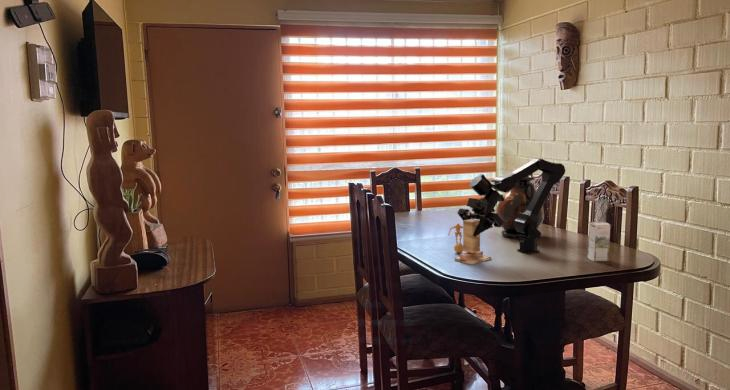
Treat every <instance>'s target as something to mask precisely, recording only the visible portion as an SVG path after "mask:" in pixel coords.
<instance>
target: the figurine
mask: <svg viewBox="0 0 730 390" xmlns="http://www.w3.org/2000/svg"><path fill="white" fill-rule="evenodd" d="M453 229H455V231H454V235H455V236H454V237H455V241H456V243H455V245H454V246H453V250H454V251H455V253H457V254H462V253H463V252H464V251H463V243H462V239H463V234H462V231H461V229H463V226H462V225H461V224H460V223H456V224H455V225H454V226H452V227H450V228H449V231H448V236H450V233H451V231H452V230H453ZM458 237H459V242H458Z"/></svg>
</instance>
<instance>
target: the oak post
mask: <svg viewBox="0 0 730 390" xmlns="http://www.w3.org/2000/svg"><path fill="white" fill-rule="evenodd" d="M479 223H480V220H477V219H469V220H464V221H463V220H462V225H463V226H462V227H463V228H462V231H463V232H462V233H463V234H462V241H463V242H462V245H463V252H464V253H467V252H469V253H475V252H479V251H481V233H480V234H479V235H477V236H474V235H473V234H474V232H475V230H476V228H477V226H478V225H479Z"/></svg>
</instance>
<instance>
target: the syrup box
mask: <svg viewBox="0 0 730 390" xmlns="http://www.w3.org/2000/svg"><path fill="white" fill-rule="evenodd" d="M610 236H611V224H610V223H608V222H606V221H590V222H588V239H587V259H589V260H590V261H592V262H595V263H597V262H609V257H610V240H611V237H610Z"/></svg>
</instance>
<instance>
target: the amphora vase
mask: <svg viewBox="0 0 730 390" xmlns="http://www.w3.org/2000/svg"><path fill="white" fill-rule="evenodd" d="M534 180H536V177H535V176H532V175H529V176H527V177H525V178H524V179H522V180H520V181H519V182H517V183H516V185H515V187H514V188H512V189H511V190H510V191H509V192H504V194H503V197H504V201H499V202H497V205H496V206H497V207H496V210H495V213H497V214H498V215H499V217H500V218H501V219H502V221H503V224H502V226H501V227H500V228H502V230H501V233H500V234H501V235H502V236H503V237H505V238H509V239H514V240H515V239H517V240H520V237H522V236H520V235H518V233H517V231H516V229H515V226H514V224H515V222H516V221H515V220H516V218H517V216H518V214H519V213H524V212H525V211H526V210H527V208H528V206H529V204H530V202H531V201H532V199H533V197H534V195H535V193H536V188H535V185H534V184H533V183H531V182H533V181H534ZM544 219H545V212H544V205H543V206H542V208H541V210H540V212H539V214H538V216H537V221H538V223H537V226H536V228H537V229H538V230H539V228H540V227H541V225H542V224H543V221H544Z"/></svg>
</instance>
